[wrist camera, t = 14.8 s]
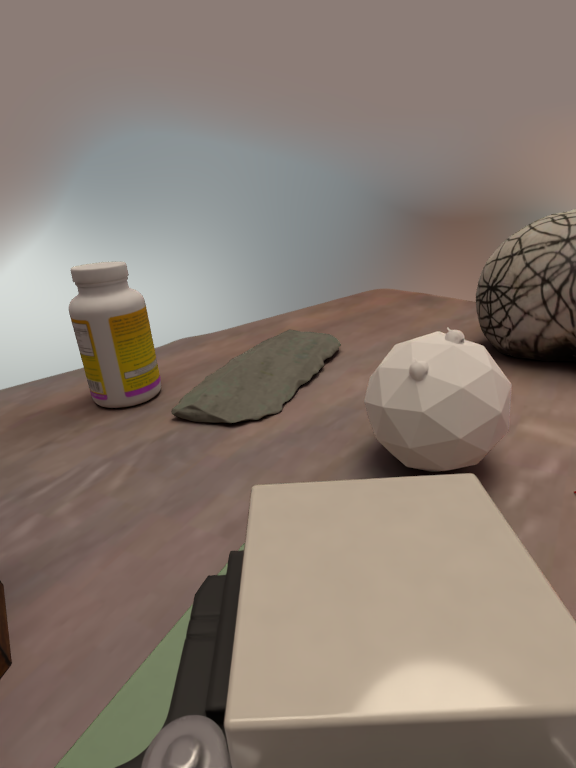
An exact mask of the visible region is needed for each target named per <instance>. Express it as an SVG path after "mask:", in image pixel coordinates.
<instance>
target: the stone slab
mask: <svg viewBox="0 0 576 768" xmlns="http://www.w3.org/2000/svg"><path fill="white" fill-rule="evenodd" d="M339 346H341V344H340V342H339V341H338V340H337V339H336V338H335V337H334V336H332V335H330V334H323V333H315V332H300V331H295V330H287V331H285V332H283V333H281V334H279V335H277V336H275V337H273V338H270V339H268V340H265V341H263V342H261V343H260V344H258V345H256V346H255V347H253V348H251V349H249V350H248V351H246V352H244V353H243V354H241V355H239V356H237V357H235V358H233V359H231V360H230V361H229V363H228V364H227V365H225V366H224V367H222V368H220V369H218V370H217V371H216V372H215V373H213V374H211V375H209V376H207V377H206V378H205V380H204V381H202V382H201V383H200V384H199V385H198V386H196V387H194V388H193V389H192V390H191V391H190V392H189V393H187V394H186V395H185V396H184V397H183V398H182V399H181V400H180V402H179V404H178V405H177V406H175V407H174V408H173V409H172V414H173V415H174V416H177V417H180V418H183V419H187V420H191V421H195V422H213V423H220V422H225V423H235V422H239V421H244V420H258V419H260V418H262V417H263V416H266V415H271V414H276V413H278V412H280V411H281V410H282V405H283V403H284V402H286V401H288V400H289V399H291V397H292V396H293V395H294V393H295V391H296V390H297V389H298V387H299V386H300V385H302V384H304V383H306V382H308V381H309V380H310V379H311V377H312V375H314V374H316V373H317V372H319V369H320V368H322V367H324V362H323V360H325V359H326V358H329V357H331V356H332V355H333V354H334V353H335V351H337V350H338V349H339Z"/></svg>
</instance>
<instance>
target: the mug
mask: <svg viewBox="0 0 576 768" xmlns="http://www.w3.org/2000/svg"><path fill="white" fill-rule="evenodd" d="M11 663H12V662H11V653H10V643H9V634H8V625H7V615H6V606H5V597H4V587H3V584H2V583H1V581H0V678H1V676H2V675H3V674H4V673H5V671H6V670H7V669H8V667H9V666H10V665H11Z"/></svg>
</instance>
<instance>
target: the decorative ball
mask: <svg viewBox="0 0 576 768" xmlns="http://www.w3.org/2000/svg"><path fill="white" fill-rule="evenodd" d="M447 329H448V330H449V332H448V333H447V334H445V333H442V332H439V331H438V332H434V333H431V334H428V335H425V336H421V337H418V338H415V339H412V340H408V341H405V342H402V343H399V344H395V346H394V347H393V348H392V350H391V351H390V352H389V353H388V355H387V356H386V357H385V359H384V360H383V361H382V363H381V364H380V365H379V366H378V368H377V369H376V370H375V372H374V373H373V374H372V376H371V377H370V379H369V384H368V388H367V392H366V396H365V401H364V403H365V406H366V410H367V414H368V418H369V421H370V424H371V426H372V429H373V432H374V435H375V438H376V440H377V441H379V442H380V443H381V444H382V445H383V446H384V447H385V448H386V449H387V450H388V451H389V452H390V453H391V454H392V455H394V456H395V457H396V458H397V459H398V460H399V461H400V462H402V463H403V464H404V465H405V466H406V467H411V468H416V469H421V470H426V471H430V472H436V471H447V470H452V469H457V468H462V467H466V466H471V465H476V464H478V463H479V462H480V461H481V460H482V459H483V458H484V456H485V455H486V454H487V453H488V452H489V451H490V450H491V449H492V448H493V447H494V446H495V445H496V444H497V443H498V442H499V441H500V440H501V439H502V438H503V437H504V435H505V434H506V433H507V432H508V431H509V420H510V404H511V387H512V384H511V383H510V381H509V380H508V379H507V377H506V376H505V375H504V373H503V372H502V370H501V369H500V368H499V366H498V365H497V364H496V362H495V361H494V359H493V358H492V357H491V355H490V354H489V353H488V351H487V350H486V348H485V347H484V346H483V345H480V344H477V343H473V342H470V341H467V340H464V339H465V338H464V334H463V333H462V332H461V331H459V330H450V329H449V328H448V327H447Z"/></svg>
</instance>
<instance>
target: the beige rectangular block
mask: <svg viewBox="0 0 576 768" xmlns="http://www.w3.org/2000/svg"><path fill="white" fill-rule="evenodd" d="M224 728H225V734H226V739H227V745H228V750H229V755H230V761H231V766H232V768H576V621H575V620H574V618H573V617H572V615H571V614H570V612H569V611H568V609H567V608H566V606H565V605H564V604H563V602H562V601H561V599H560V598H559V596H558V595H557V593H556V592H555V590H554V589H553V588H552V586H551V585H550V583H549V582H548V580H547V579H546V577H545V576H544V574H543V573H542V572H541V570H540V569H539V567H538V566H537V564H536V563H535V561H534V560H533V558H532V557H531V556H530V554H529V553H528V551H527V550H526V548H525V547H524V545H523V544H522V542H521V541H520V540H519V538H518V537H517V535H516V534H515V532H514V531H513V529H512V528H511V526H510V525H509V524H508V522H507V521H506V519H505V518H504V516H503V515H502V513H501V512H500V510H499V509H498V508H497V506H496V505H495V503H494V502H493V500H492V499H491V497H490V496H489V494H488V493H487V492H486V490H485V489H484V487H483V486H482V484H481V483H480V481H479V480H478V478H477V477H476V476H475V475H474V474H472V473H465V474H447V475H428V476H410V477H391V478H373V479H354V480H336V481H317V482H299V483H280V484H262V485H254V486H253V487H252V489H251V495H250V503H249V512H248V520H247V529H246V537H245V546H244V554H243V563H242V571H241V580H240V588H239V597H238V605H237V614H236V622H235V631H234V639H233V648H232V656H231V665H230V673H229V682H228V690H227V699H226V707H225V716H224Z"/></svg>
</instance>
